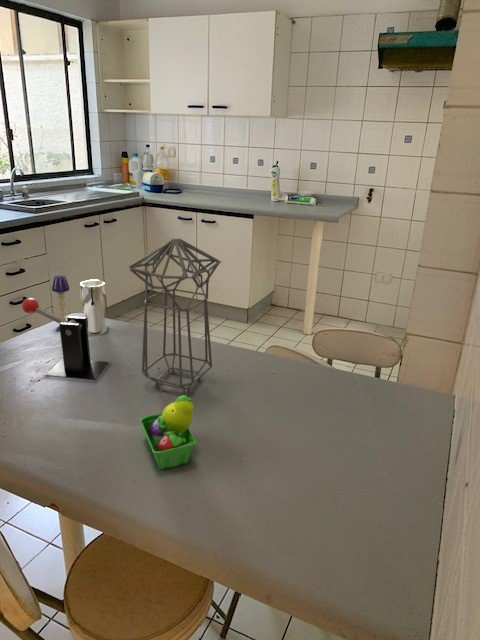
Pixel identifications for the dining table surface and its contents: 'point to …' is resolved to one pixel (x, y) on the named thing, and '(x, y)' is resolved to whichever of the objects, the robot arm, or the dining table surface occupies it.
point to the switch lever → (43, 311)
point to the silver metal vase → (94, 305)
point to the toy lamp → (60, 294)
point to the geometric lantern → (163, 251)
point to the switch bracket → (76, 353)
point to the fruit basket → (171, 433)
